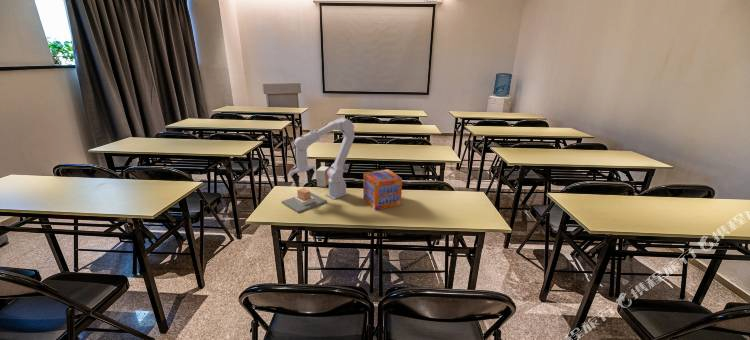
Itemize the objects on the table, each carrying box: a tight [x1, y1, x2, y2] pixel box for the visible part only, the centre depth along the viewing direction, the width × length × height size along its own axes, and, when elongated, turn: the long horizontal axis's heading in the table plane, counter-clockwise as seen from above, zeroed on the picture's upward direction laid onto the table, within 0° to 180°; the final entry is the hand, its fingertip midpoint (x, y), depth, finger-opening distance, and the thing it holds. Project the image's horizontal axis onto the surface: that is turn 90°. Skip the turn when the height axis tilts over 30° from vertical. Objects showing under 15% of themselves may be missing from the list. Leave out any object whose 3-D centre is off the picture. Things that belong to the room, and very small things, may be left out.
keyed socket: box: [281, 191, 328, 214], centre depth 164 cm, size 18×16×3 cm
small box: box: [315, 165, 330, 188], centre depth 188 cm, size 8×6×10 cm
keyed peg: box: [297, 187, 311, 201], centre depth 163 cm, size 6×4×6 cm, turn 46°
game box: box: [362, 169, 403, 211], centre depth 165 cm, size 16×16×16 cm
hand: (303, 184), depth 164 cm, fingers open, 7 cm apart
